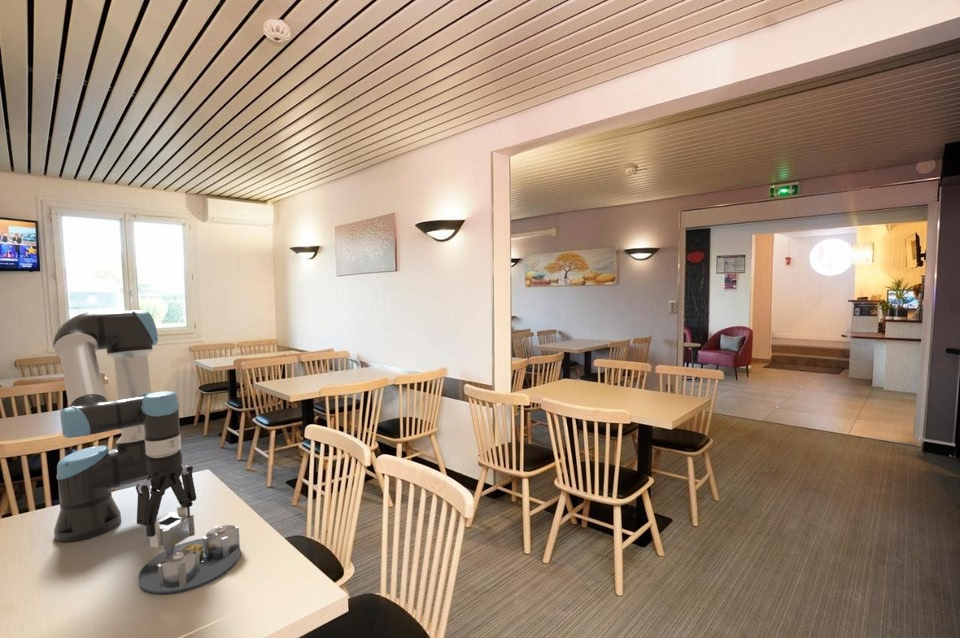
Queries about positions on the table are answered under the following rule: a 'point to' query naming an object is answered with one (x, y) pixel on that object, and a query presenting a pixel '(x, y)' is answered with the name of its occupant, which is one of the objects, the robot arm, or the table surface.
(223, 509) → the table surface
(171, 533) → the grey square frame
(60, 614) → the table surface
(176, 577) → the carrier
